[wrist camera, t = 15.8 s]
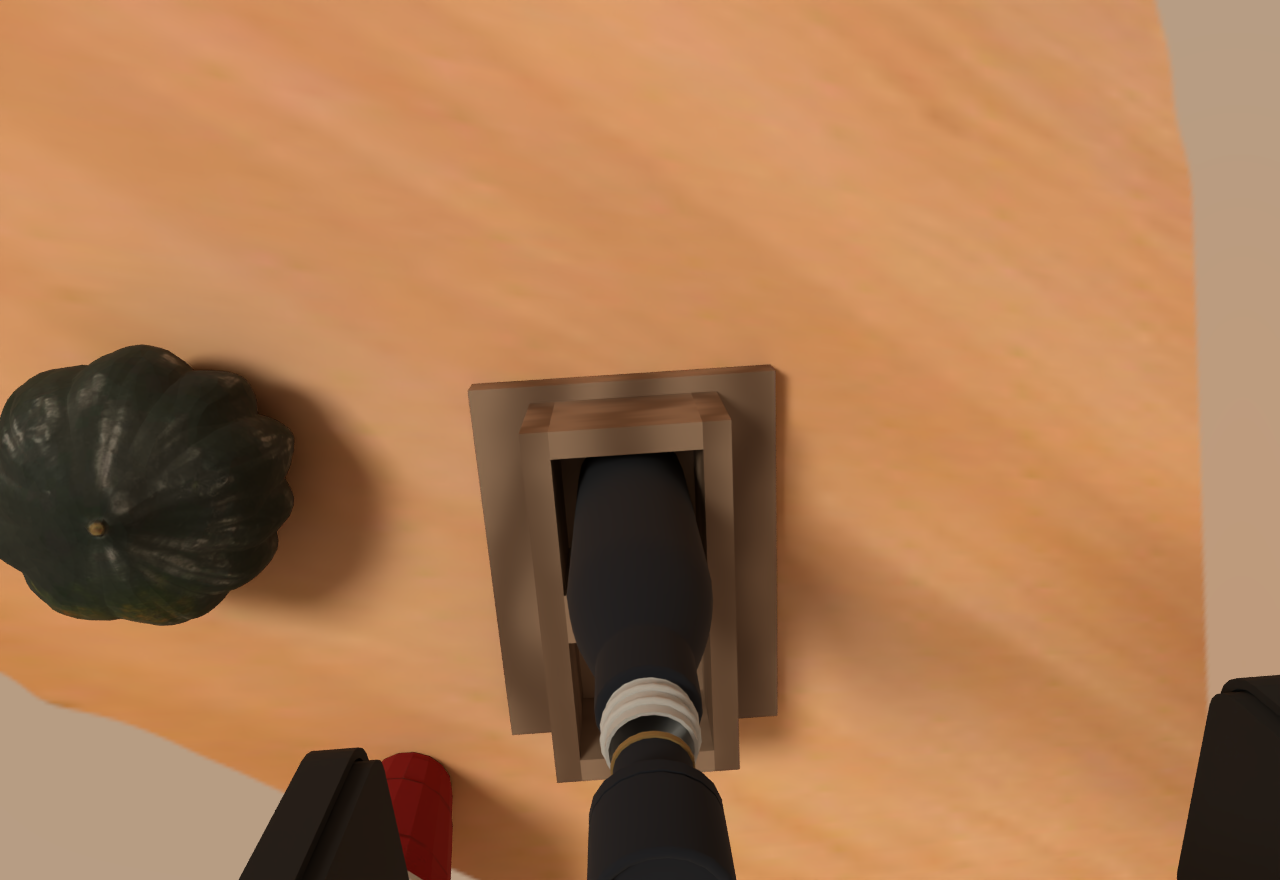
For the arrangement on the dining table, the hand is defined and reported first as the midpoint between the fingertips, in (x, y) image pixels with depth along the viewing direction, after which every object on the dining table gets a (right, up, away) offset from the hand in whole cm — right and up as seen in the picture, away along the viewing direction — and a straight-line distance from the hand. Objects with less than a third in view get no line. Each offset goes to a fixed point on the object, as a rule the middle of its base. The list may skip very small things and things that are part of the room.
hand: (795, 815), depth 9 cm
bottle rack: (-2, -3, +43) cm, 43 cm away
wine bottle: (-2, +2, +39) cm, 40 cm away
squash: (-29, +4, +40) cm, 49 cm away
